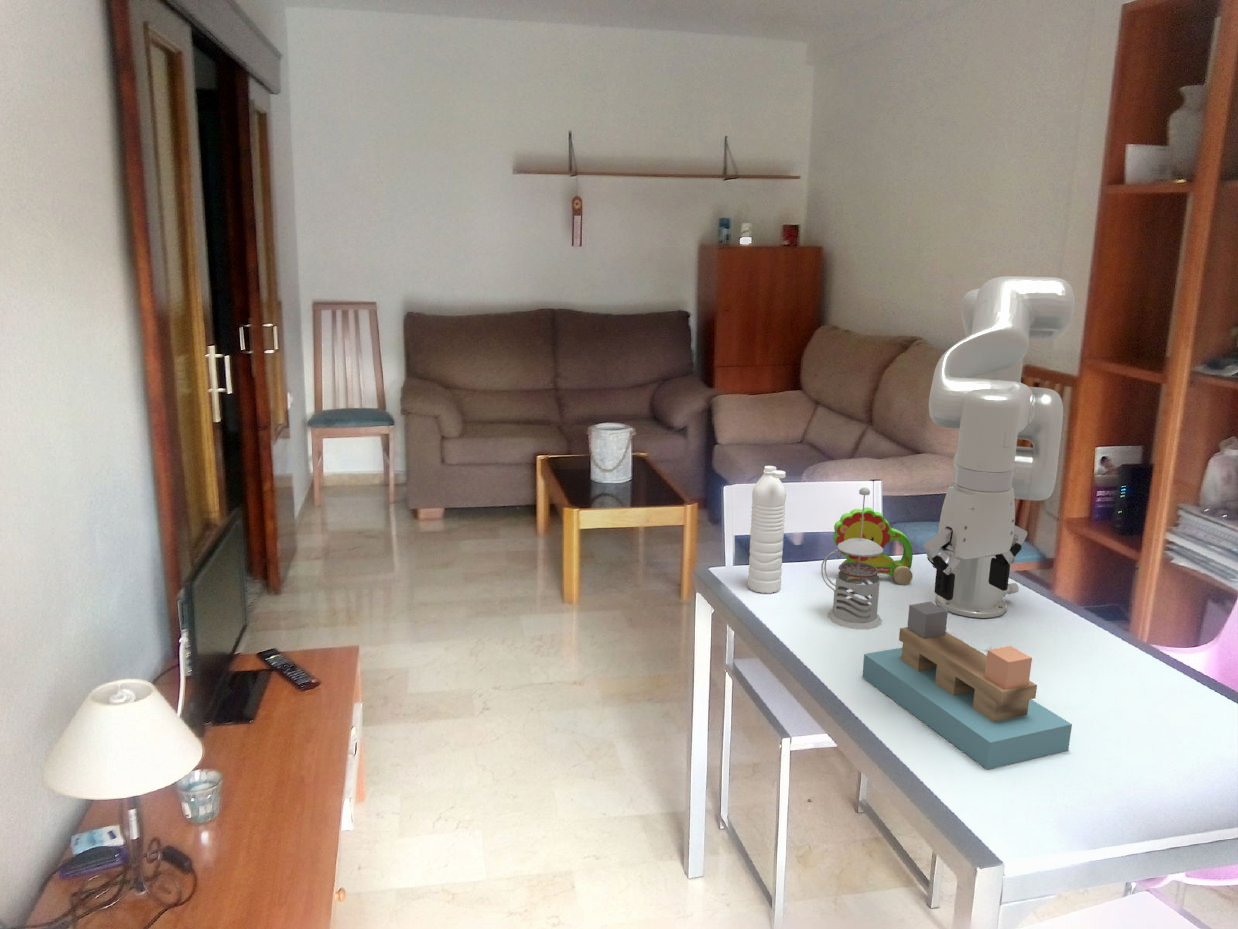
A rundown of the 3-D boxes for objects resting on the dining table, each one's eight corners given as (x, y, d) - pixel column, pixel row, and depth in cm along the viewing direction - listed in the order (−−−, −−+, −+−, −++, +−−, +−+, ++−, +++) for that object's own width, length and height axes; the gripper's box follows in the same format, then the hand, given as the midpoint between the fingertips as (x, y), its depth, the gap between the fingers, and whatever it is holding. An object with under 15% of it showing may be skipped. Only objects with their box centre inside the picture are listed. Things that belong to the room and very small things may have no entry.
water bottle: (743, 583, 188) (748, 463, 182) (773, 580, 189) (779, 461, 183) (758, 599, 180) (765, 474, 173) (790, 597, 181) (797, 472, 175)
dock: (934, 663, 153) (936, 641, 152) (1068, 750, 128) (1072, 724, 127) (862, 677, 149) (864, 654, 148) (987, 769, 123) (990, 742, 122)
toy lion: (906, 576, 193) (912, 506, 189) (912, 586, 187) (919, 514, 184) (828, 573, 194) (833, 503, 190) (832, 583, 188) (837, 511, 185)
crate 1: (928, 625, 146) (930, 601, 145) (945, 635, 143) (947, 611, 142) (907, 628, 145) (909, 604, 144) (923, 639, 141) (926, 614, 140)
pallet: (928, 652, 148) (931, 623, 147) (1032, 718, 129) (1037, 685, 127) (897, 657, 146) (899, 628, 145) (998, 725, 126) (1002, 692, 125)
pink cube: (1007, 672, 131) (1010, 645, 130) (1028, 684, 127) (1031, 657, 126) (984, 676, 130) (987, 650, 129) (1005, 689, 126) (1008, 662, 125)
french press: (873, 633, 165) (884, 498, 159) (810, 619, 171) (819, 488, 165) (889, 615, 173) (900, 485, 167) (828, 602, 179) (837, 476, 173)
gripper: (1012, 465, 136) (999, 574, 141) (914, 477, 130) (904, 590, 135) (1052, 479, 129) (1037, 593, 134) (950, 492, 123) (938, 611, 128)
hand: (970, 591), depth 134 cm, fingers open, 9 cm apart
